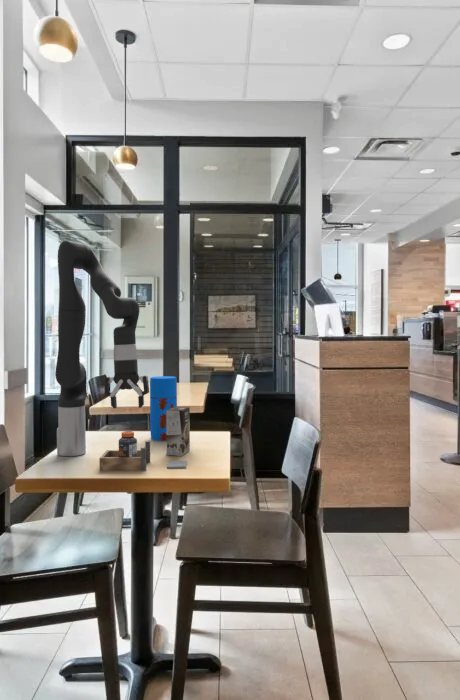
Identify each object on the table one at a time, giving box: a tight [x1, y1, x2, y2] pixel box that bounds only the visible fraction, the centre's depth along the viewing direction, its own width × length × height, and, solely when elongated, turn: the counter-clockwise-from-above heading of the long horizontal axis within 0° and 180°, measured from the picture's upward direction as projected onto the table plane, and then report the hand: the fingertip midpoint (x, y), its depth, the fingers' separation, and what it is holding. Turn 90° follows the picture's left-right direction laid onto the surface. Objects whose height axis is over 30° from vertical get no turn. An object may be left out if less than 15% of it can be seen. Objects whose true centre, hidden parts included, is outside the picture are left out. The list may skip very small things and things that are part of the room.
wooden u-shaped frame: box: [98, 440, 151, 472], centre depth 171 cm, size 14×11×7 cm
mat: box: [166, 460, 188, 469], centre depth 172 cm, size 6×7×1 cm
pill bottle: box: [118, 430, 138, 457], centre depth 171 cm, size 6×6×11 cm
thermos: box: [149, 375, 178, 442], centre depth 215 cm, size 11×11×25 cm
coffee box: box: [165, 406, 191, 457], centre depth 189 cm, size 9×6×16 cm
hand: (127, 407), depth 173 cm, fingers open, 8 cm apart
